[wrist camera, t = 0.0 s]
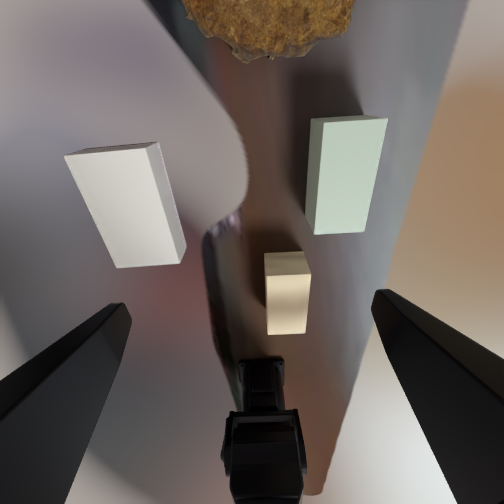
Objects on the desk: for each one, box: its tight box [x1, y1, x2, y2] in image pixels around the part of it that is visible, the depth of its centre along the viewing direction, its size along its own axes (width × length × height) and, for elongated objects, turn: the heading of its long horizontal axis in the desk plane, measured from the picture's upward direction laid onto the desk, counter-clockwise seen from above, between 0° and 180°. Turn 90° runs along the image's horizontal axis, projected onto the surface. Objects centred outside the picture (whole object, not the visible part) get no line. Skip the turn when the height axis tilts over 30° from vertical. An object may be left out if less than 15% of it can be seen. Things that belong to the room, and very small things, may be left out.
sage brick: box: [305, 115, 388, 235], centre depth 19 cm, size 8×4×4 cm, turn 3°
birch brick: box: [264, 251, 311, 335], centre depth 26 cm, size 8×4×4 cm, turn 3°
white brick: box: [63, 142, 187, 268], centre depth 21 cm, size 10×6×3 cm, turn 5°
